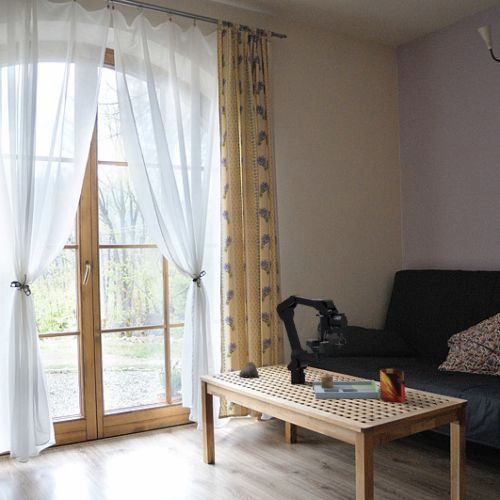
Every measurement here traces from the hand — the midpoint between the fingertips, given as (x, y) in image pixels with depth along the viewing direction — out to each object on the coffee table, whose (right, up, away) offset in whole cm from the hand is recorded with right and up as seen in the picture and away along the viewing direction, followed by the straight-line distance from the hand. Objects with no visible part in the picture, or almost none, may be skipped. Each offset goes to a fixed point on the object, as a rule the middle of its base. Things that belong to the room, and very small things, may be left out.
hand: (326, 360), depth 275 cm
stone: (-36, -14, +30) cm, 49 cm away
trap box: (+7, -13, -11) cm, 18 cm away
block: (-1, -11, -7) cm, 13 cm away
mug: (+26, -12, -25) cm, 38 cm away
